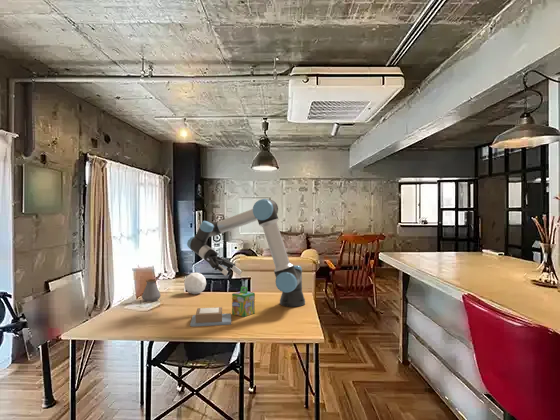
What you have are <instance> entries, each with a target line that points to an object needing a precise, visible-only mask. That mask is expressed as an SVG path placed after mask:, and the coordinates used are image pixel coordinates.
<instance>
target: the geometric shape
mask: <svg viewBox="0 0 560 420" xmlns="http://www.w3.org/2000/svg"><path fill="white" fill-rule="evenodd" d="M183 283H184V290H186V292H187V293H188V294H192V295H197V294H201V293H202V292H204V291H205V289H206V286H207V280H206V277H205V276H204V275H203V274H202V273H200V272H196V271H195V272H191V273H189V274H188V275H187V276H186V277H185V279H184V282H183Z"/></svg>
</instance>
